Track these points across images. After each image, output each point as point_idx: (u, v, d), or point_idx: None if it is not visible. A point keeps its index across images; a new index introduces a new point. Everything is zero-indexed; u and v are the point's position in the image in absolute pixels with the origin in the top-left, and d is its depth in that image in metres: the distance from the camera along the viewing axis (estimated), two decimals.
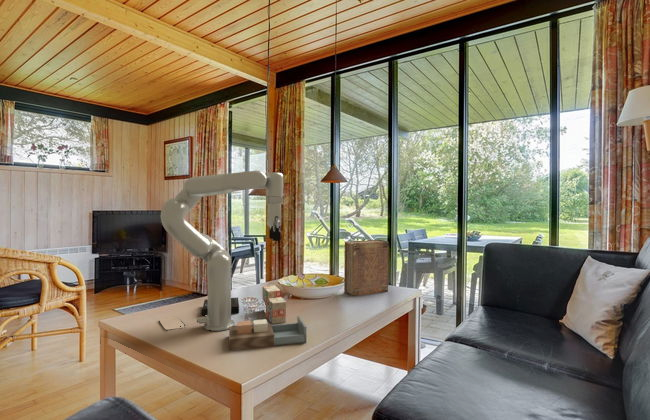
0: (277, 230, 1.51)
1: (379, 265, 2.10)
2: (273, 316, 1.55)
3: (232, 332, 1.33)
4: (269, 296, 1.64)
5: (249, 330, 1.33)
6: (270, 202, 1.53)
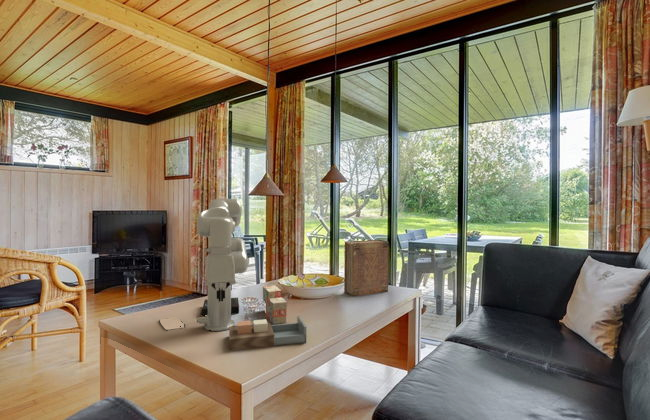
0: None
1: (379, 265, 2.10)
2: (274, 316, 1.55)
3: (232, 332, 1.33)
4: (270, 296, 1.63)
5: (249, 330, 1.33)
6: (228, 253, 1.31)
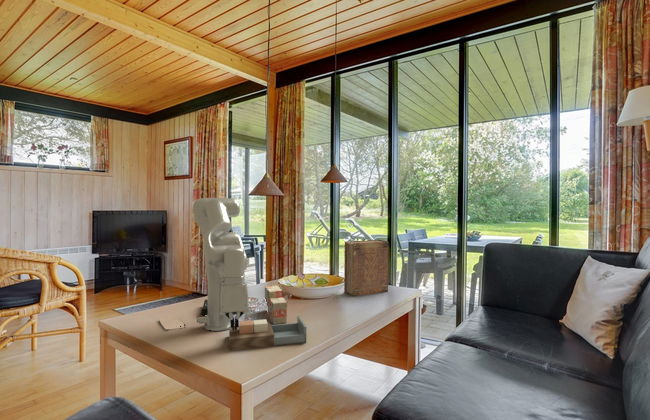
0: None
1: (379, 265, 2.10)
2: (274, 316, 1.55)
3: (232, 332, 1.33)
4: (271, 296, 1.63)
5: (251, 330, 1.33)
6: (242, 283, 1.32)
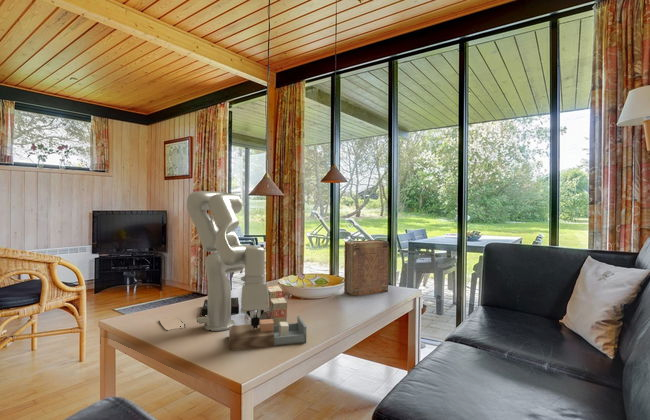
0: None
1: (379, 265, 2.10)
2: (274, 316, 1.55)
3: (232, 332, 1.33)
4: (271, 296, 1.63)
5: (271, 328, 1.35)
6: (263, 282, 1.34)
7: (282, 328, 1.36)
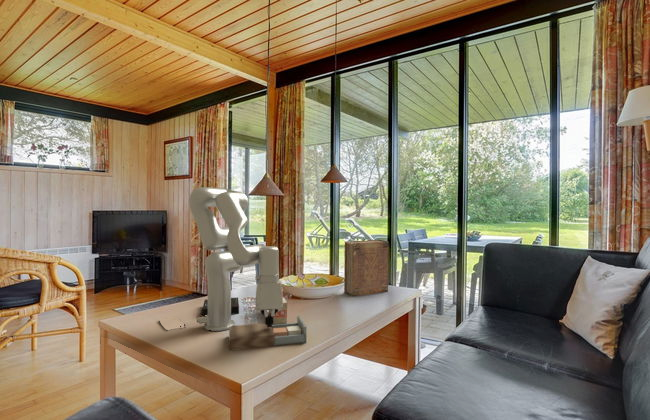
0: None
1: (379, 265, 2.10)
2: (274, 316, 1.55)
3: (232, 332, 1.33)
4: None
5: None
6: (277, 281, 1.36)
7: (299, 331, 1.38)
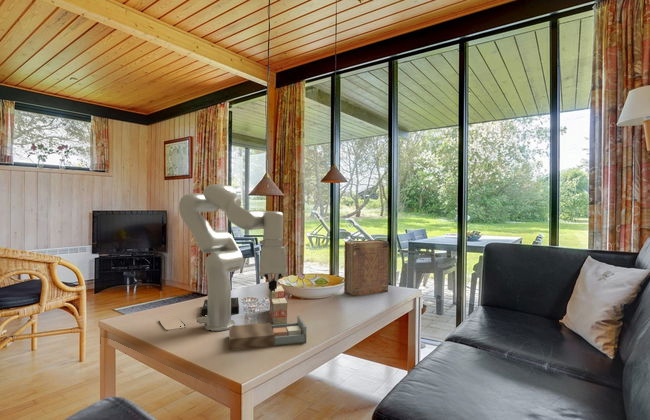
0: None
1: (379, 265, 2.10)
2: (274, 317, 1.54)
3: (232, 332, 1.33)
4: (272, 296, 1.63)
5: None
6: (281, 246, 1.36)
7: (299, 331, 1.38)
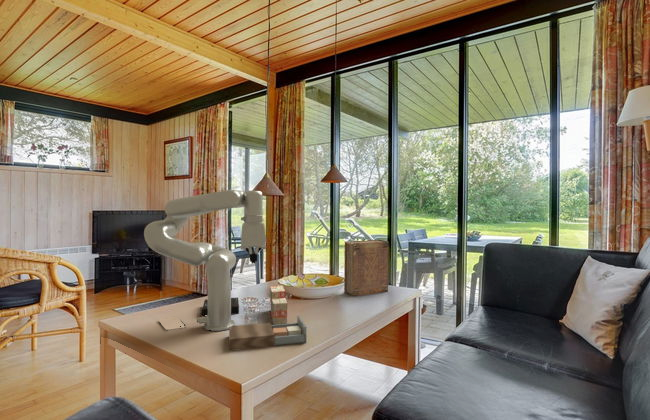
0: (257, 253, 1.52)
1: (379, 265, 2.10)
2: (274, 317, 1.54)
3: (232, 332, 1.33)
4: (273, 296, 1.63)
5: None
6: (260, 221, 1.50)
7: (299, 331, 1.38)
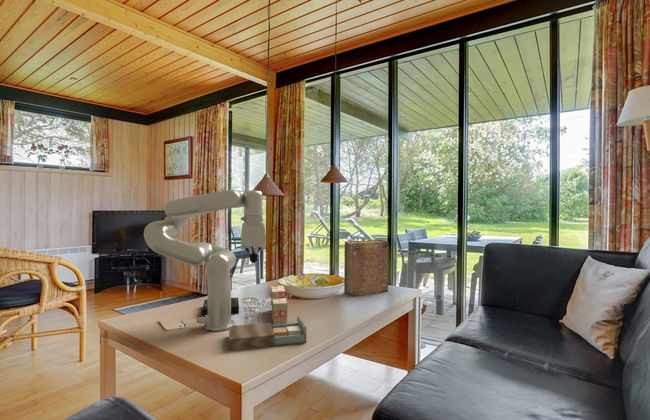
0: (257, 253, 1.52)
1: (379, 265, 2.10)
2: (274, 317, 1.54)
3: (232, 332, 1.33)
4: (273, 296, 1.63)
5: None
6: (260, 221, 1.50)
7: (299, 331, 1.38)
